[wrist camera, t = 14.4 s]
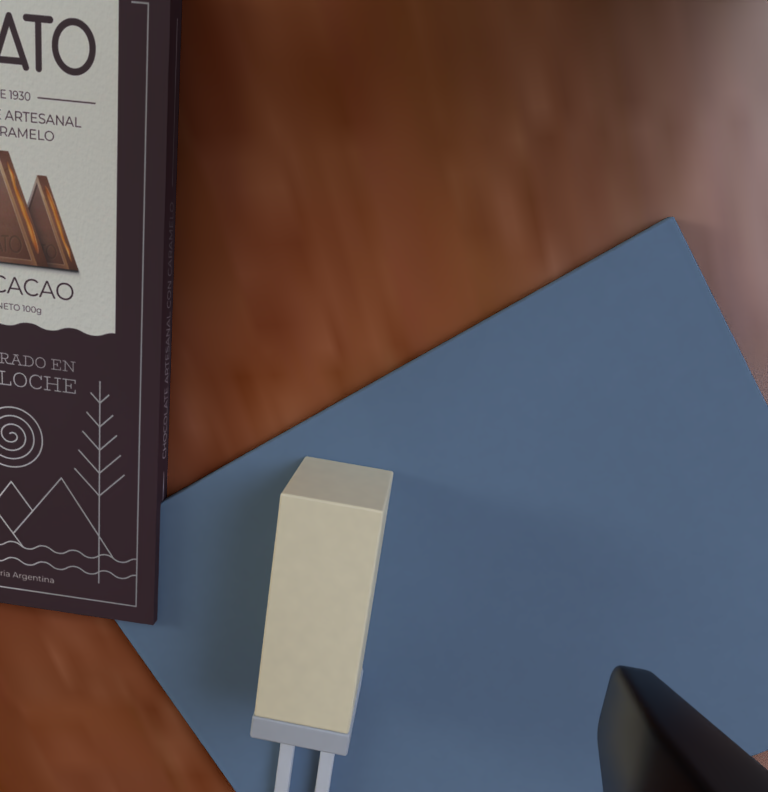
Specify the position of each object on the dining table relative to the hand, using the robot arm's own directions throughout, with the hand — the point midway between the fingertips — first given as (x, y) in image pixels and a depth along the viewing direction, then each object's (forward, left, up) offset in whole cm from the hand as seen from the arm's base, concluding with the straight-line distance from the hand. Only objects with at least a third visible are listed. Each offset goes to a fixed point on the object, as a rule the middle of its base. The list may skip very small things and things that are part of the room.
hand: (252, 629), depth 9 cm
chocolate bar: (+7, -7, -12) cm, 16 cm away
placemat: (0, +7, -11) cm, 13 cm away
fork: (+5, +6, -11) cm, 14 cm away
